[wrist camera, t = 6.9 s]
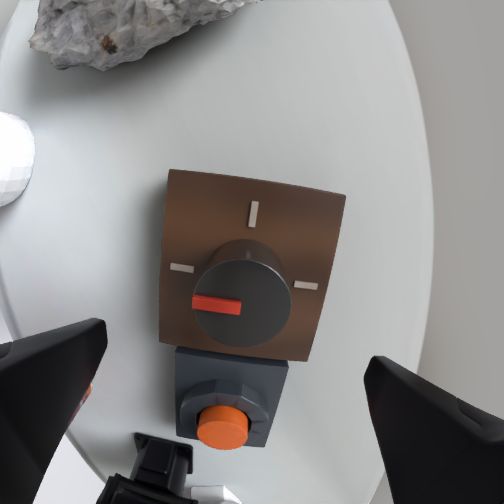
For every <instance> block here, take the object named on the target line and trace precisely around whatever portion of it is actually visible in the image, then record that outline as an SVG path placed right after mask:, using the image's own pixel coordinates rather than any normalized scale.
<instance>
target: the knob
mask: <svg viewBox="0 0 504 504" xmlns="http://www.w3.org/2000/svg"><path fill="white" fill-rule="evenodd" d="M291 307H292V300H291V294H290V291H289V287H288V284H287V281H286V278H285V275H284V272H283V269H282V266H281V263H280V261H279V259H278V257H277V256H276V254H275V253H274V252H273V251H272V250H271V249H270V248H269V247H267V246H266V245H264V244H262V243H260V242H257V241H254V240H249V239H239V240H234V241H231V242H228V243H226V244H224V245H222V246H221V247H219V248H218V249H217V250H216V251H215V252H214V253H213V255H212V256H211V258H210V259H209V261H208V263H207V265H206V267H205V269H204V271H203V273H202V275H201V277H200V279H199V280H198V282H197V285H196V287H195V290H194V293H193V297H192V309H193V310H194V314H195V317H196V319H197V321H198V323H199V325H200V326H201V328H202V329H203V330H204V331H205V332H206V333H207V334H208V335H209V336H210V337H211V338H213V339H214V340H216V341H218V342H220V343H222V344H224V345H228V346H232V347H238V348H248V347H255V346H258V345H261V344H264V343H266V342H268V341H270V340H271V339H273V338H274V337H275V336H277V335H278V334H279V333H280V332H281V330H282V329H283V328H284V327H285V325H286V323H287V321H288V319H289V317H290V313H291Z"/></svg>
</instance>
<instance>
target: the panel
mask: <svg viewBox="0 0 504 504" xmlns="http://www.w3.org/2000/svg"><path fill="white" fill-rule="evenodd" d="M345 200H346V195H343V194H338V193H333V192H328V191H323V190H318V189H313V188H307V187H302V186H296V185H290V184H284V183H278V182H272V181H265V180H259V179H252V178H245V177H237V176H230V175H222V174H214V173H205V172H196V171H186V170H175V169H169V173H168V181H167V190H166V199H165V209H164V219H163V231H162V245H161V262H160V284H159V342H162V343H167V344H172V345H177V346H183V347H188V348H194V349H200V350H206V351H213V352H219V353H226V354H233V355H241V356H249V357H258V358H268V359H278V360H290V361H303V362H307V361H308V357H309V354H310V351H311V347H312V344H313V340H314V337H315V333H316V330H317V326H318V322H319V319H320V315H321V311H322V307H323V303H324V299H325V295H326V291H327V287H328V283H329V279H330V274H331V270H332V266H333V261H334V257H335V252H336V247H337V242H338V237H339V232H340V227H341V222H342V217H343V211H344V206H345ZM239 239H249V240H254V241H257V242H260V243H262V244H264V245H266V246H267V247H269V248H270V249H271V250H272V251H273V252H274V253H275V254H276V256H277V257H278V259H279V261H280V263H281V266H282V269H283V272H284V275H285V278H286V281H287V284H288V287H289V291H290V294H291V300H292V307H291V313H290V317H289V319H288V321H287V323H286V325H285V327H284V328H283V329H282V330H281V332H280V333H279V334H278V335H277V336H275V337H274V338H273V339H271V340H270V341H268V342H266V343H264V344H261V345H258V346H255V347H248V348H238V347H232V346H228V345H224V344H222V343H220V342H218V341H216V340H214V339H213V338H211V337H210V336H209V335H208V334H207V333H206V332H205V331H204V330H203V329H202V328H201V326H200V325H199V323H198V321H197V319H196V317H195V314H194V310H193V309H192V297H193V293H194V290H195V287H196V285H197V282H198V280H199V279H200V277H201V275H202V273H203V271H204V269H205V267H206V265H207V263H208V261H209V259H210V258H211V256H212V255H213V253H214V252H215V251H216V250H217V249H218V248H219V247H221V246H222V245H224V244H226V243H228V242H231V241H234V240H239Z"/></svg>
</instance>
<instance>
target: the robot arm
mask: <svg viewBox="0 0 504 504" xmlns="http://www.w3.org/2000/svg"><path fill="white" fill-rule="evenodd" d="M107 344H108V339H107V330H106V323H105V321H104V320H102V319H98V318H91V319H87V320H84V321H81V322H77V323H74V324H71V325H67V326H64V327H60V328H57V329H53V330H50V331H47V332H43V333H40V334H36V335H33V336H29V337H26V338H22V339H19V340H15V341H13V342H8V343H4V344H0V504H33V501H34V499H35V496H36V494H37V491H38V489H39V487H40V484H41V482H42V480H43V477H44V476H43V475H45V472H46V470H47V468H48V466H49V464H50V462H51V459H52V457H53V455H54V453H55V451H56V449H57V447H58V445H59V443H60V441H61V439H62V436H63V435H64V433H65V431H66V429H67V427H68V425H69V423H70V421H71V419H72V417H73V415H74V413H75V412H76V410H77V408H78V406H79V404H80V402H81V400H82V399H83V397H84V395H85V393H86V391H87V390H88V388H89V386H90V384H91V382H92V380H93V378H94V376H95V374H96V371H97V369H98V367H99V364H100V362H101V360H102V357H103V355H104V353H105V350H106V348H107ZM364 385H365V390H366V395H367V401H368V406H369V411H370V416H371V420H372V423H373V427H374V430H375V433H376V437H377V440H378V444H379V447H380V451H381V455H382V458H383V462H384V466H385V470H386V473H387V477H388V481H389V485H390V489H391V493H392V498H393V502H394V504H504V420H503V419H500V418H498V417H496V416H494V415H491V414H489V413H487V412H485V411H483V410H480V409H478V408H476V407H474V406H472V405H470V404H468V403H466V402H464V401H463V400H461V399H459V398H456V397H455V396H454V395H452V394H450V393H448V392H446V391H445V390H443V389H441V388H439V387H437V386H435V385H434V384H432V383H430V382H428V381H426V380H425V379H423V378H421V377H420V376H418V375H416V374H414V373H413V372H411V371H409V370H407V369H406V368H404V367H402V366H400V365H399V364H397V363H395V362H393V361H392V360H390V359H388V358H387V357H385V356H373V357H372V358H371V360H370V362H369V365H368V367H367V369H366V372H365V374H364ZM134 439H135V443H136V447H137V451H138V456H137V459H136V462H135V464H134V467H133V470H132V473H131V476H130V479H128V478H125V477H123V476H121V475H120V474H118V473H116V474H115V476H114V477H113V476H109V478H108V480H107V483H106V485H105V488H104V489H103V491H102V493H101V494H100V496H99V498H98V500H97V502H96V504H198V500H195V499H193V500H192V499H188V498H185V497H182V495H183V490H184V484H185V479H186V474H192V472H193V447H192V446H191V445H187V444H182V443H177V442H172V441H167V440H163V439H159V438H155V437H151V436H147V435H143V434H139V433H136V434H135V435H134Z"/></svg>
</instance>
